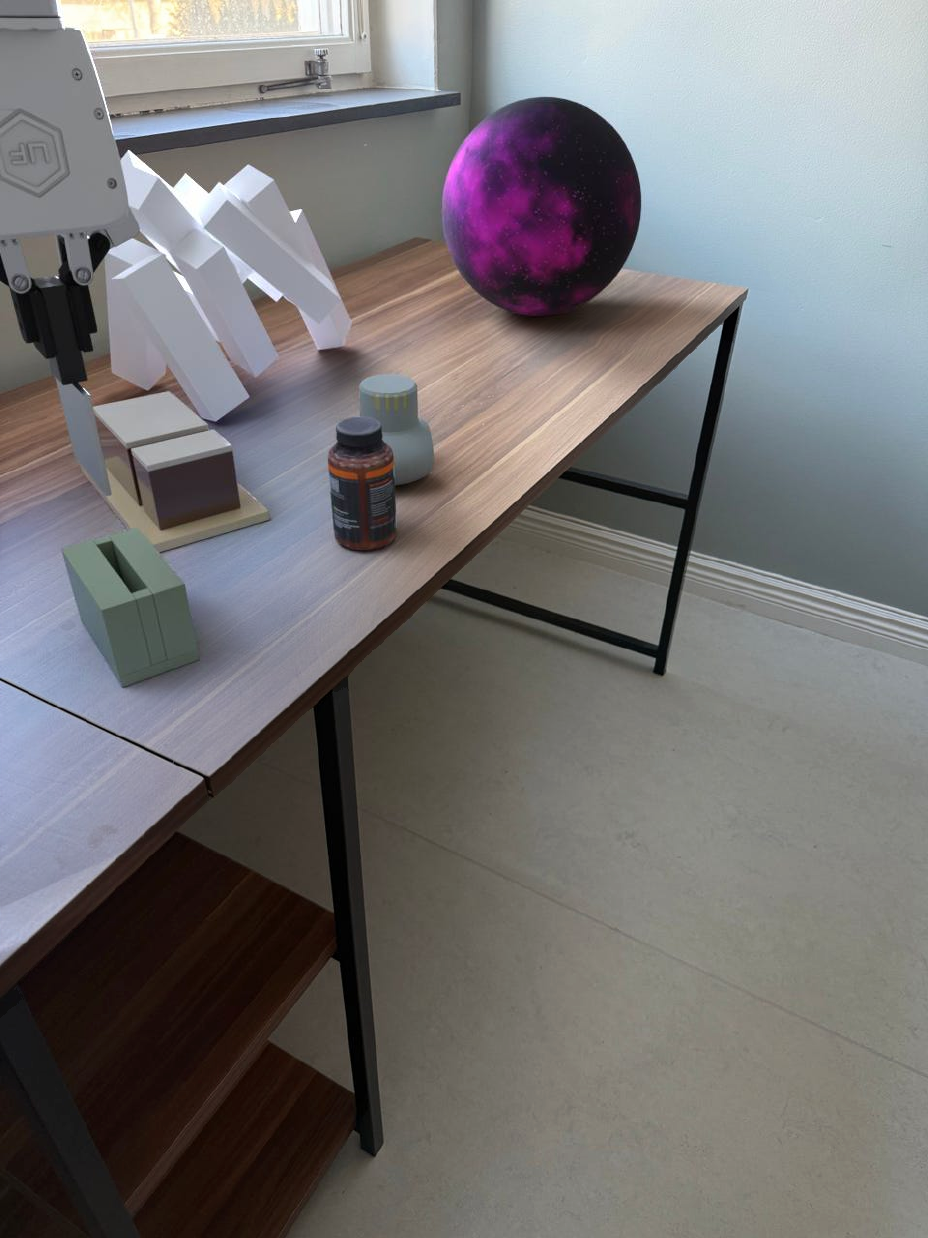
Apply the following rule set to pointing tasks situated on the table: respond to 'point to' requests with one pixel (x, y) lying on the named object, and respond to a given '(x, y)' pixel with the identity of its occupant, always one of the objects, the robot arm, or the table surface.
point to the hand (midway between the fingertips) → (63, 347)
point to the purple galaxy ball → (541, 206)
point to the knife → (73, 382)
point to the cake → (170, 472)
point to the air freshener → (399, 423)
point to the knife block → (131, 605)
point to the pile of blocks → (211, 283)
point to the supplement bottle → (362, 485)
